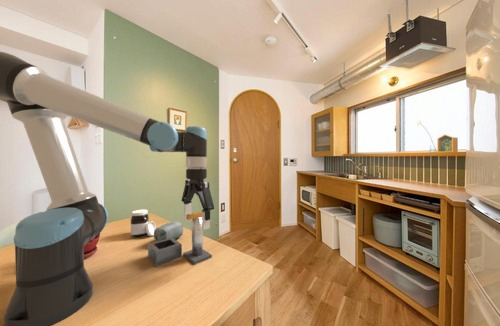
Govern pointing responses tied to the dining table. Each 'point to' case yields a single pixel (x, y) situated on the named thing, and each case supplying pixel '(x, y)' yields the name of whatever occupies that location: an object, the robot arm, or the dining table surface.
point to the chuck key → (196, 233)
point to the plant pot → (91, 246)
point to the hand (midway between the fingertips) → (196, 224)
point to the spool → (168, 231)
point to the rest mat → (197, 258)
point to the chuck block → (164, 251)
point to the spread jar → (141, 224)
